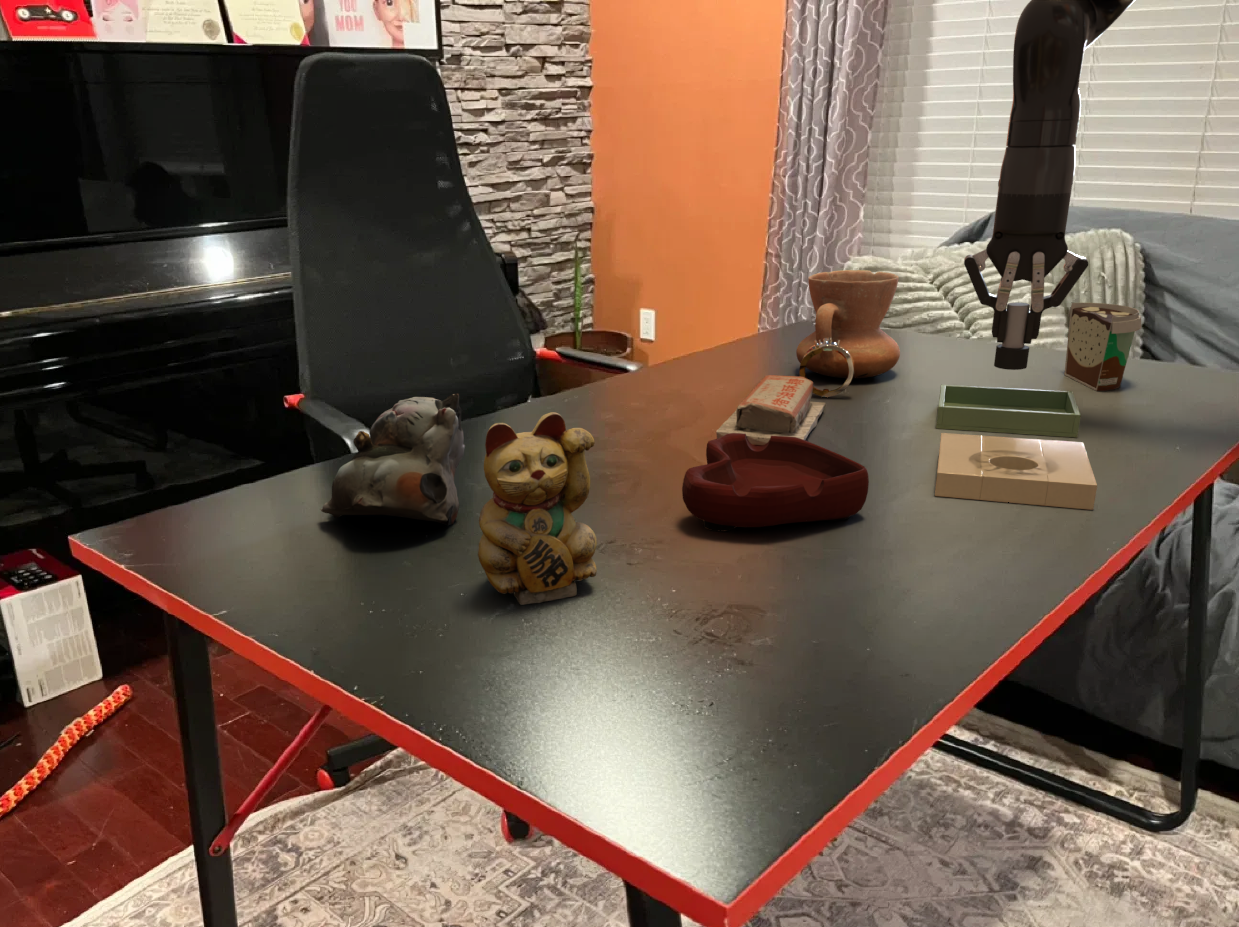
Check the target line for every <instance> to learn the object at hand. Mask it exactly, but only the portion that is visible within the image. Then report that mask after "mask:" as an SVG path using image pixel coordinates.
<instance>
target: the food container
mask: <svg viewBox="0 0 1239 927" xmlns="http://www.w3.org/2000/svg"><path fill="white" fill-rule="evenodd" d="M1067 317H1068V318H1069V323H1068V332H1067V333H1068V334H1067V343H1066V354H1065V365H1064V374H1063V376H1065V377H1067V378H1070V379H1072V380H1074V381H1076V383H1077V382H1078V383H1079V384H1080V385H1083V386H1085V387H1087V388H1089V389H1090V390H1094V391H1095V392H1107V391H1113V390H1116V389H1118V388H1120V387H1121V386H1122V381H1123V378H1124V373H1125V369H1126V366H1127V362H1128V358H1129V355H1130V351H1131V348H1132V343H1133V340H1134V336H1135V333H1136V332H1137V331H1140V330H1141V329H1142V316H1141V315H1140V310H1139V309H1137V308H1134V307H1131V306H1126V305H1120V304H1115V303H1104V302H1102V303H1101V302H1071V304H1070V307H1069V310H1068V315H1067Z"/></svg>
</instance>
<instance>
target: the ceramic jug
mask: <svg viewBox="0 0 1239 927" xmlns="http://www.w3.org/2000/svg"><path fill="white" fill-rule="evenodd" d="M807 280H808V290H809V295H810V299H811V302H812V305H813V309H814V311H815V320H814V321H815V322H814V324H815V326H814V331H813V332H812V333H810V334H809V335H807V336H805V338H804V339H802V340H801V341H800V342H799V343H798V345H797V348H796V351H795V352H796V353H795V355H796V358H797V361H798V362H799V365H800V364H801V361H802V359H803V357H804V355H805V354H806V352H807V351H808V350H809V349H810V348H811V347H812V346H814V345H815V343H814V341H815V340H817V344H818V343H819V340H821V342H823V339H824V338H829V337H831V338H832V342H836V343H837V340H840V342H839V345H838V346H840V347H842V348H844V349H845V350H846V351H847V352H849V354H850V355H851V356H852V358H853V361H854V365H855V371H854V376H853V379H865V378H866V379H867V378H872V377H876V376H880V375H882V374H885V373H887V372H889V371H890V370H891V369H893V368H894V367H895V366H896V365H897V364H898V362H899V359H900V356H901V350H900V349H901V348H900V346H899V344H898V343H897V342H896V340H895V339H893V337H891V336H890V335H888V334H887V333H886V332H885V331H884V330H882V329H881V324H882V322H883V321H884V319H885V317H886V315H887V314H888V311H889V309H890V306H891V305H892V302H893V300H894V298H895V294H896V291H897V289H898V284H899V275H897V274H896V273H891V272H888V271H876V272H875V273H874V272H872V271H871V270H866V269H845V270H844V269H843V270H833V271H823V272H818V273H814V274H812V275H810V276H808V278H807ZM805 369H807V370H809V371H811V372H813V373H816V374H818V375H821V376H825V377H830V378H837V379H847V377H848V373H849V367H848V363H847V361H846V359H845V358H844V357H843V356H842V355H841V354H839V353H838V352H836V351H835V350H832V351H823V350H822V352H821V353H819V354H817V355H815V356H813V357H812V358H811V359H810V360H809V361H808V362H807V364H806V368H805Z"/></svg>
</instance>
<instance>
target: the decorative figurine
mask: <svg viewBox="0 0 1239 927" xmlns="http://www.w3.org/2000/svg"><path fill="white" fill-rule="evenodd" d="M595 444H596V442H595V438H594V437H593V435H592V434H591V433H590V431H588V430H587V429H584V428H582V427H573V428H569V429H567V428H566V422H565V419H564V418H563V417H562V415H561V414H560V413H557V412H555V411H554V412H553V411H552V412H548V413H546V414H545V413H544V414H543V415H542V416H541V417H540V418H539V420H537V422H536V424H535V426H534V428H533V429H532V431H525V432H518V433H516V432H515V430H514V429H513V427H511V426H510V425H509V424H507V423H505V422H495V423H494V424H492V425H491V426H490V427H489V429H488V430H487V432H486V435H485V443H484V447H485V456H484V460H483V472H484V477H485V479H486V482H487V484H488V487H489V488H490V489H491V491H492V498H490V499H489V500H488V501H487V502H486V503H485V504H484V505H482V508H481V511H480V512H479V518H478V524H479V528H480V530H481V532H482V535H481V537H480V539H479V542H478V550H477V554H478V555H477V557H478V561H479V563H480V566H481V568H482V569H483V571H484V573H485V575H486V578H487V580H488V581H489V584H490V585H491V586H492V587H493V588H494V589H495V590H496V591H497V592H498V593H500V594H502V595H503V594H505V595H506V594H513V596H514V597H515V598H516V601H517V602H518V604H520V605H529V604H542V603H544V602H548V601H556V600H560V599H566V598H572V597H575V596H577V593H578V592H577V590H578V589H577V582H581V581H582V580H588V579H589V578H594V577H596V576H597V573H598V572H597V570H598V569H597V564H596V563H595V561H594V559H593V557H594V555H595V554H596V550H597V546H598V540H597V536H596V534H595V532H594V530H592V528H591V527H590V525H587V524H585V523H583V522H578V521H576V520H575V517H574V516H573V513H574V512H576V511H578V509H580V508H581V506H583V504H585V502H586V501H587V499H588V497H589V494H590V490H591V475H590V472H589V468H588V465H587V461H586V456H585V452H586V451H587V452H588V451H589V450H590V449H591V448H593V447H594V446H595Z"/></svg>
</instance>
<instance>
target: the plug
mask: <svg viewBox="0 0 1239 927" xmlns="http://www.w3.org/2000/svg"><path fill="white" fill-rule="evenodd" d="M1030 305H1031V304H1030V303H1027V302H1008V303H1007V307H1006V309H1007V320H1006V327H1005V335H1004V342H1003V343H998V344H997V345H996V346H995V347H996V348H995V354H994V356H995V357H994V362H993V367H995V368H997V369H1002V370H1007V371H1008V370H1009V371H1020V370H1021V371H1022V370H1025V369H1027V367H1028V360H1029V352H1030V346H1029V345H1027V344H1024V341H1025V334H1026V327H1027V320H1028V312H1029V310H1030Z"/></svg>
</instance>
